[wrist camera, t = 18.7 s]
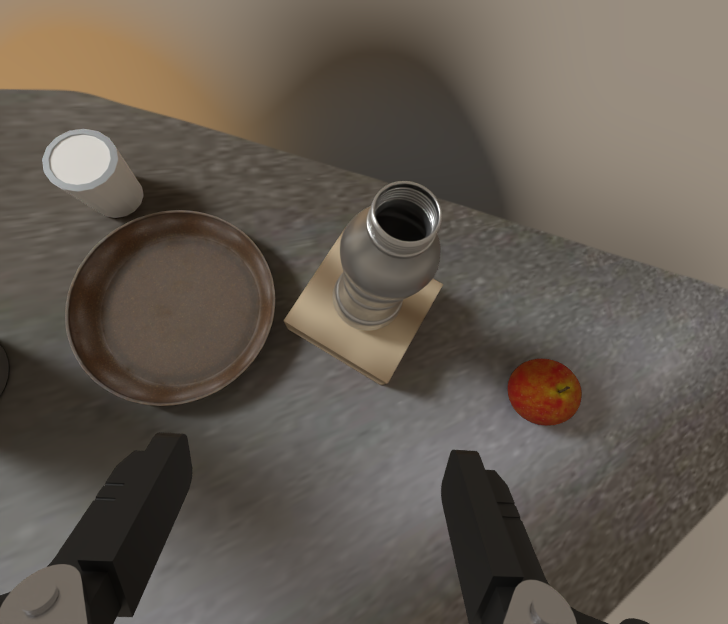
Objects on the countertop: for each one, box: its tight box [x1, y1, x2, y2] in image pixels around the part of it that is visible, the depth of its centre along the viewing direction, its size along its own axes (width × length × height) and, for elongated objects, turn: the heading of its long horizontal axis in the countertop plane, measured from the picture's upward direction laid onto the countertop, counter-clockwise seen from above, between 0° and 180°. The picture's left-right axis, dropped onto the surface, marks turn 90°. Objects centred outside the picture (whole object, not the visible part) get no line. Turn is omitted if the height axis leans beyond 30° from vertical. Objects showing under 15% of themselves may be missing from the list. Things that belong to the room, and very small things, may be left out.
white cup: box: [42, 129, 143, 218], centre depth 40 cm, size 7×7×7 cm
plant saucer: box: [65, 210, 275, 406], centre depth 40 cm, size 21×21×3 cm
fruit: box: [508, 359, 582, 426], centre depth 40 cm, size 7×7×8 cm
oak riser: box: [284, 229, 443, 385], centre depth 41 cm, size 12×12×5 cm
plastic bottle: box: [332, 181, 442, 331], centre depth 29 cm, size 6×7×20 cm
